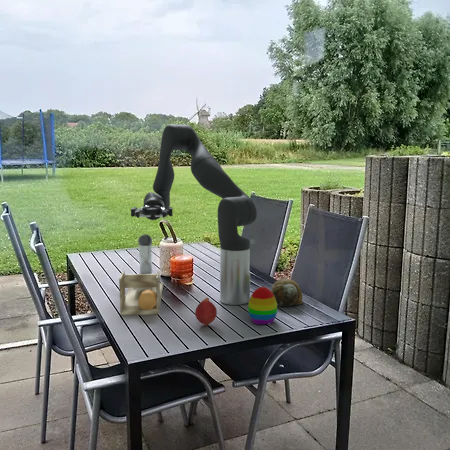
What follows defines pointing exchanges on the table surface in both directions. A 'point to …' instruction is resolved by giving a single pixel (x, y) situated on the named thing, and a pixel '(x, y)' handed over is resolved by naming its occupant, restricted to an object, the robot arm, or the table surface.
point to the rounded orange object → (147, 300)
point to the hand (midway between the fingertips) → (150, 214)
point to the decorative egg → (262, 306)
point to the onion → (206, 312)
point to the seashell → (287, 292)
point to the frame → (138, 292)
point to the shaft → (145, 257)
